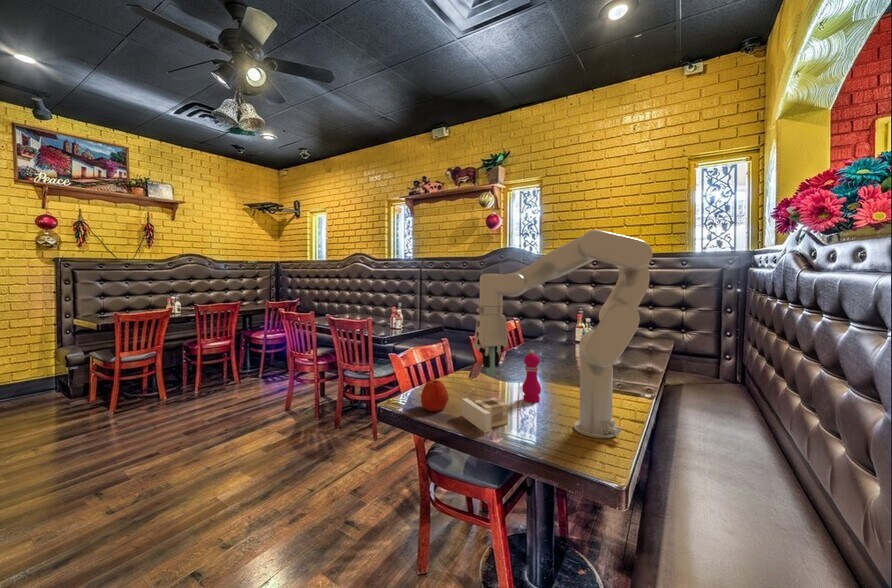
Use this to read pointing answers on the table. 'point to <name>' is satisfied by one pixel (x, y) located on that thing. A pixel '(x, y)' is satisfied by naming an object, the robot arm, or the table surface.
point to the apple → (434, 396)
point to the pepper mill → (531, 378)
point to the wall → (476, 415)
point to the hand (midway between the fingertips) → (490, 365)
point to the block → (495, 410)
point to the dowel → (491, 362)
